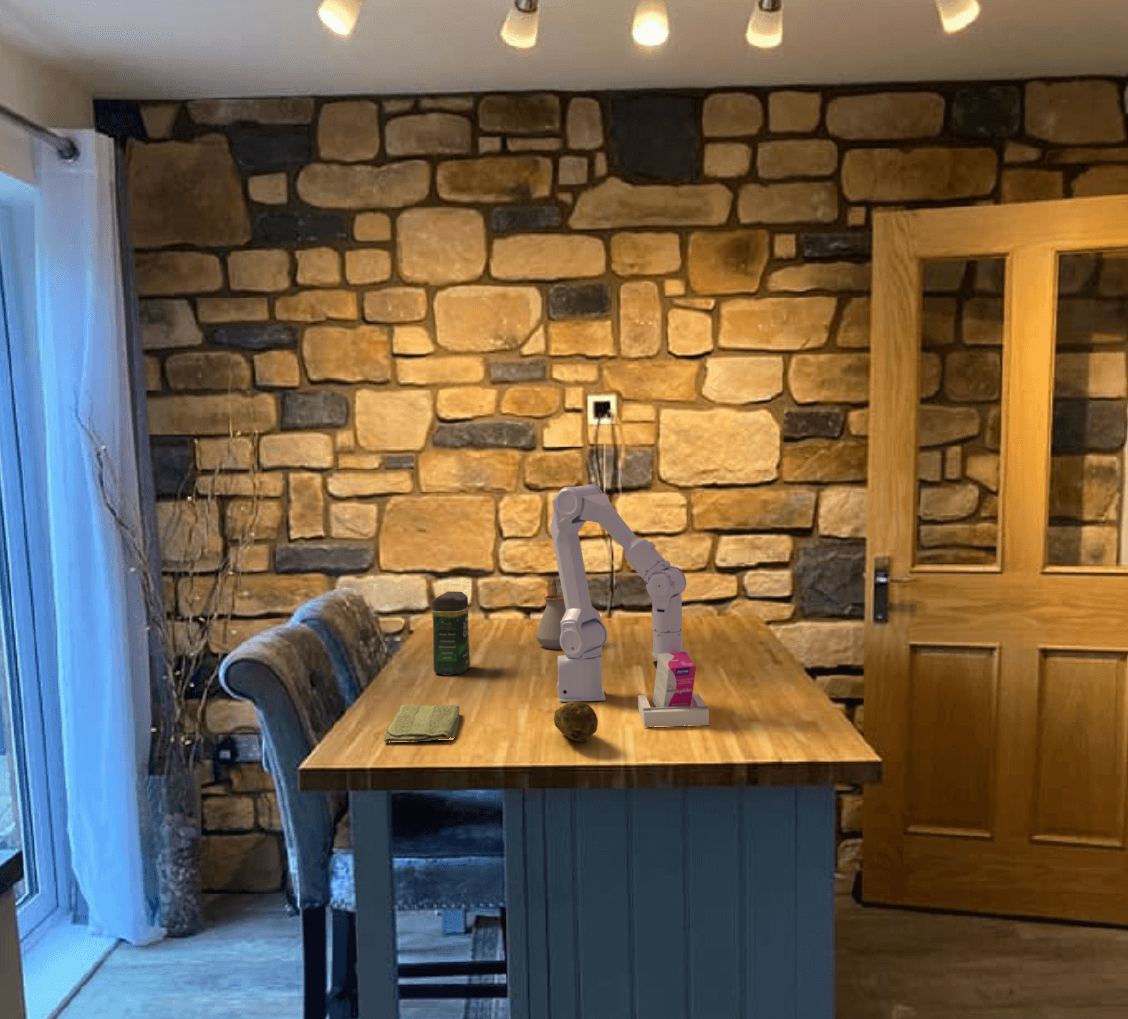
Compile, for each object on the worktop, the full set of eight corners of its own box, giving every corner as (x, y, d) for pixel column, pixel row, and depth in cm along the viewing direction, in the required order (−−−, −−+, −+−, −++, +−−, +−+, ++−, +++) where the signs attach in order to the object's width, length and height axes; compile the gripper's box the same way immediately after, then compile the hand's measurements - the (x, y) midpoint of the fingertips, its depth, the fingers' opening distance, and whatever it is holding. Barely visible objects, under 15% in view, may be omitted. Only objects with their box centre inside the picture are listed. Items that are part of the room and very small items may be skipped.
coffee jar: (463, 676, 214) (460, 596, 213) (430, 675, 215) (426, 596, 214) (474, 665, 224) (471, 589, 222) (442, 665, 225) (439, 589, 223)
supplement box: (662, 720, 178) (667, 668, 174) (651, 703, 183) (657, 652, 179) (690, 717, 179) (696, 665, 175) (679, 700, 185) (685, 649, 181)
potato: (600, 729, 173) (599, 687, 173) (597, 753, 161) (596, 708, 160) (555, 729, 174) (554, 687, 173) (549, 753, 161) (548, 708, 161)
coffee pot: (581, 650, 237) (579, 591, 235) (535, 651, 236) (534, 593, 235) (576, 632, 258) (574, 578, 257) (534, 633, 257) (532, 579, 256)
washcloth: (381, 747, 168) (381, 730, 168) (398, 717, 186) (398, 701, 185) (454, 745, 168) (454, 728, 168) (464, 716, 186) (464, 700, 185)
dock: (644, 728, 174) (644, 711, 173) (638, 710, 185) (638, 694, 185) (709, 725, 174) (708, 708, 174) (698, 708, 185) (698, 692, 185)
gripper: (693, 637, 176) (695, 707, 177) (682, 621, 191) (683, 686, 192) (656, 638, 176) (658, 708, 177) (647, 622, 190) (649, 687, 192)
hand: (668, 697), depth 184 cm, fingers closed
